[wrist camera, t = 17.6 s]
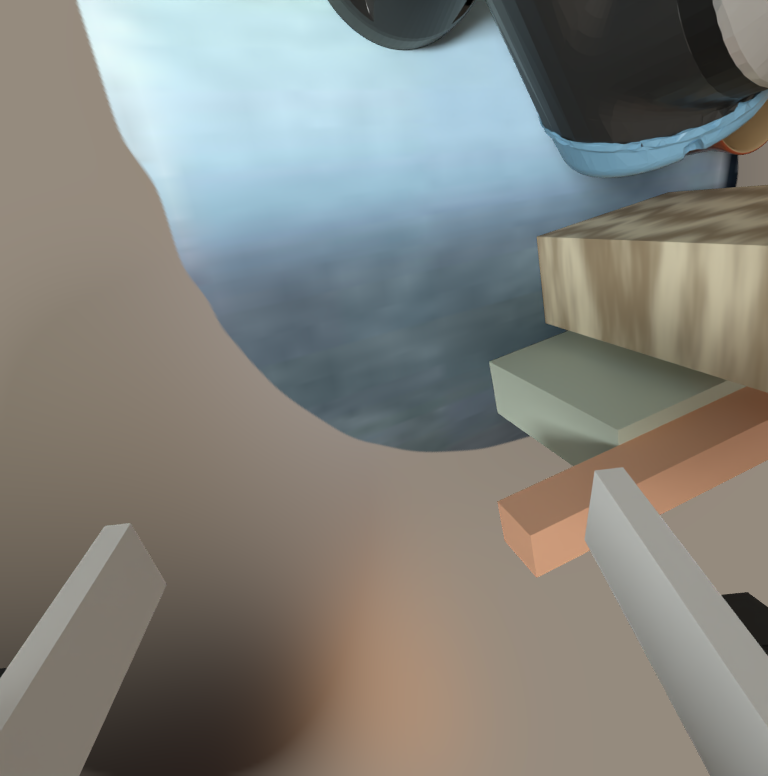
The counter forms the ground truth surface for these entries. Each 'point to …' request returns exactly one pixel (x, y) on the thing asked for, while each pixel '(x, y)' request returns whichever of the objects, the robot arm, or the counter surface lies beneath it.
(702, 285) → the stand
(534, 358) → the post low
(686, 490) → the batten
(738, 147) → the mug
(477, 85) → the counter surface
